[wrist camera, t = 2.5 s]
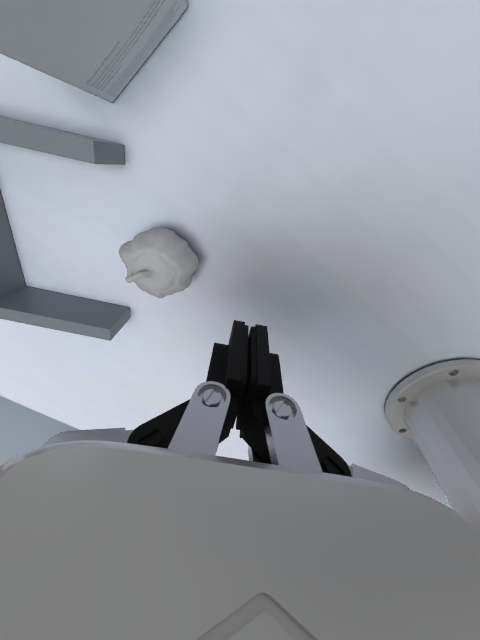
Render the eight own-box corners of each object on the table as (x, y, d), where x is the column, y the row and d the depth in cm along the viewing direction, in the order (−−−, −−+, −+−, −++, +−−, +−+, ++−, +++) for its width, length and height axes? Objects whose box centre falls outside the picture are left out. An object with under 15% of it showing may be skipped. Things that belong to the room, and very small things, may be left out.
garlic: (136, 276, 24) (107, 302, 19) (134, 215, 21) (99, 229, 16) (199, 289, 24) (186, 317, 19) (206, 230, 21) (191, 248, 16)
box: (124, 145, 18) (92, 140, 15) (130, 317, 26) (110, 340, 22) (-39, 106, 18) (-111, 92, 14) (16, 294, 25) (-22, 314, 22)
